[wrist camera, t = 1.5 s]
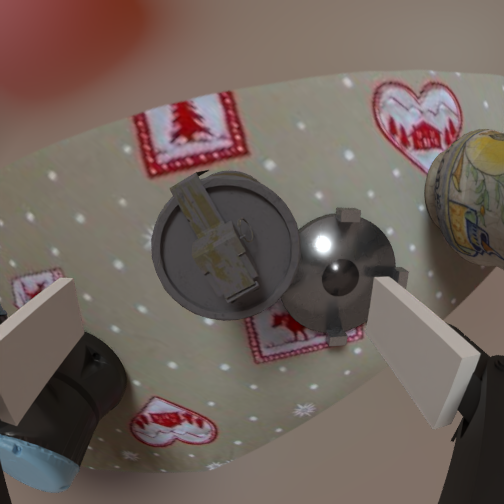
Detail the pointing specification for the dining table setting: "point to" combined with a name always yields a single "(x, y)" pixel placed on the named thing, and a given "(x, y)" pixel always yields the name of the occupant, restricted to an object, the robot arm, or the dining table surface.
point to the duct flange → (339, 273)
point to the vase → (470, 196)
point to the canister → (225, 246)
